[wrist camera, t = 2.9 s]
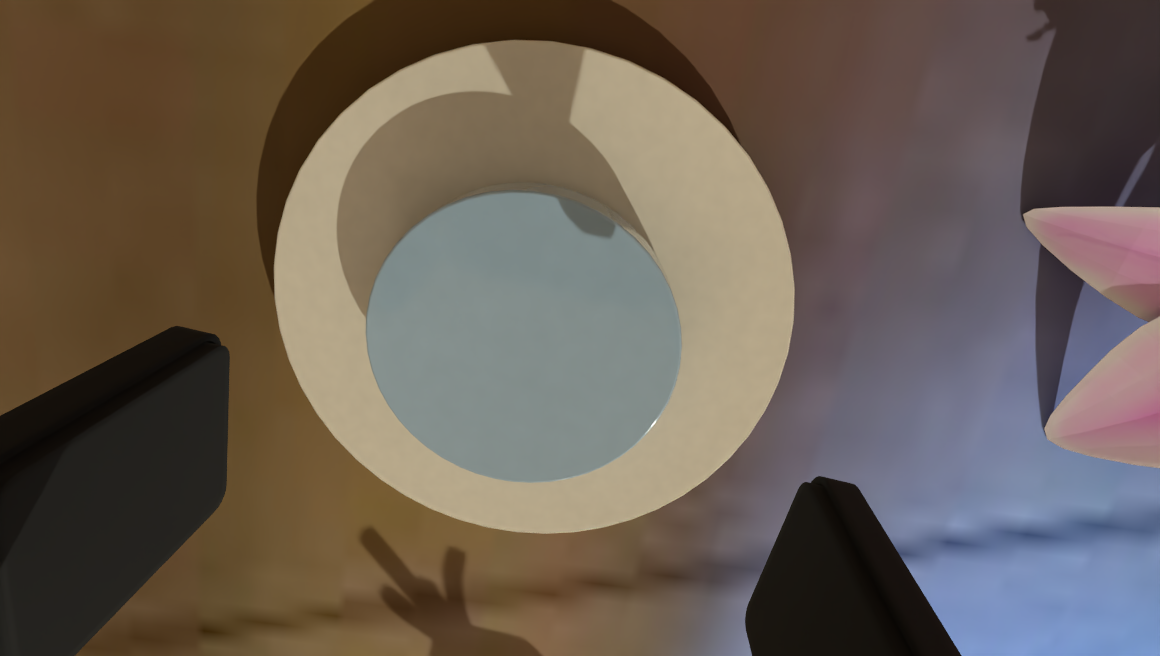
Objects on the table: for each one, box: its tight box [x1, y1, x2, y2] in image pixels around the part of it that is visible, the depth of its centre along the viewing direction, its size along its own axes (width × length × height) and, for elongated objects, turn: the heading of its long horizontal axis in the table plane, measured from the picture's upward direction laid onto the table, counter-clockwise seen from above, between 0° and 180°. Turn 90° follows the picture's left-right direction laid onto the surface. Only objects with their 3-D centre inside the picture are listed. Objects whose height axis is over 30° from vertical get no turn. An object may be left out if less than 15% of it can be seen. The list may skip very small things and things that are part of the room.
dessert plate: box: [274, 40, 795, 534], centre depth 16 cm, size 13×13×1 cm
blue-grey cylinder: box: [366, 182, 682, 483], centre depth 15 cm, size 7×7×2 cm
